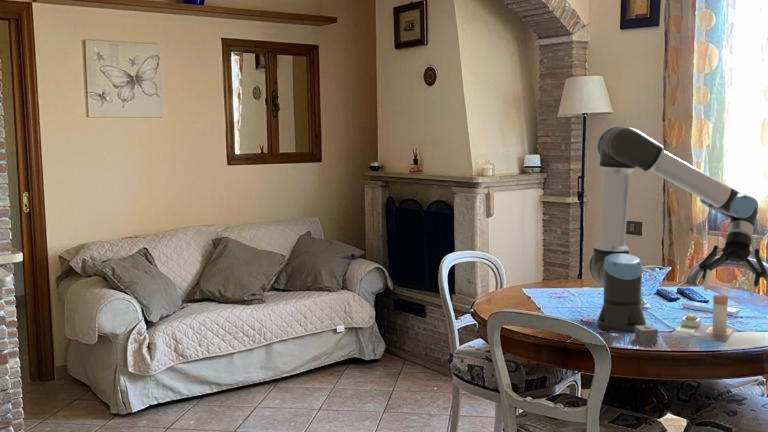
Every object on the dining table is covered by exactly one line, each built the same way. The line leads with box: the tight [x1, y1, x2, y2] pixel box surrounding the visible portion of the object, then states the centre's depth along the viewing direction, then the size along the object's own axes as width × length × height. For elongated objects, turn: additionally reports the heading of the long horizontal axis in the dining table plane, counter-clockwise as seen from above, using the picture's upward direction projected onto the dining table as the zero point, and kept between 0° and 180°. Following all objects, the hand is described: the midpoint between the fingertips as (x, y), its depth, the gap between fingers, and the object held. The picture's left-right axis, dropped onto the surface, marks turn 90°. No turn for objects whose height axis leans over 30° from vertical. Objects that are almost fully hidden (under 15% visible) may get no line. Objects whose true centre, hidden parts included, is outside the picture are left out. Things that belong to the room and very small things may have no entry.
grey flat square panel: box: [670, 323, 737, 344], centre depth 238 cm, size 16×17×1 cm
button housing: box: [680, 315, 701, 328], centre depth 245 cm, size 5×5×2 cm
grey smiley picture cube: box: [634, 324, 659, 345], centre depth 230 cm, size 5×5×5 cm
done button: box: [686, 314, 697, 321], centre depth 245 cm, size 3×3×2 cm
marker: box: [712, 294, 729, 333], centre depth 238 cm, size 4×4×11 cm
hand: (727, 291), depth 241 cm, fingers open, 13 cm apart
